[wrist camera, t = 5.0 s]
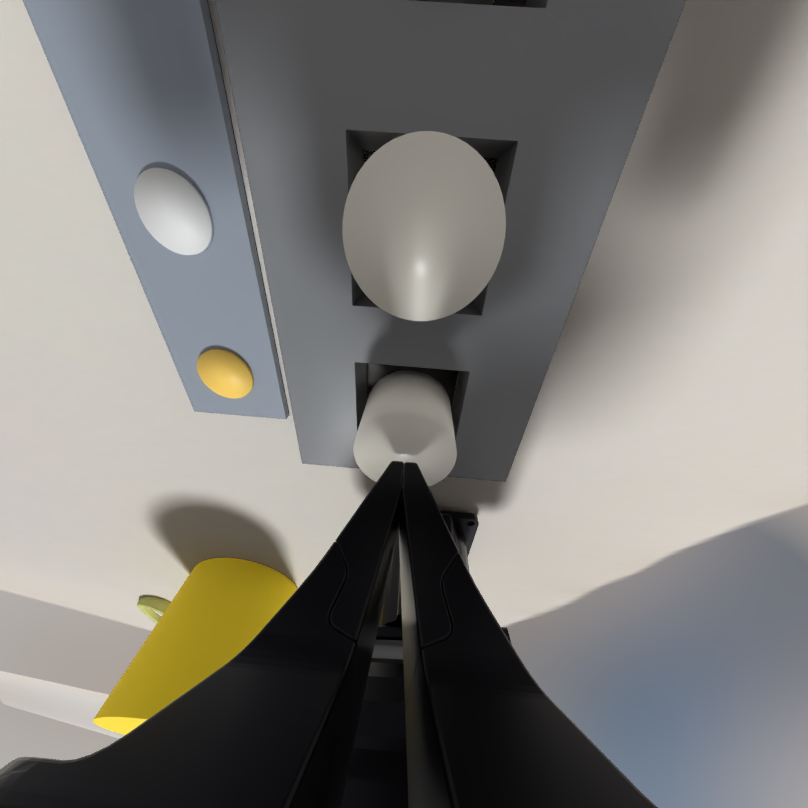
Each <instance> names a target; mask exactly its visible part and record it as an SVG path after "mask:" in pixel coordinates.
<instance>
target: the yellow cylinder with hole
mask: <svg viewBox="0 0 808 808" xmlns="http://www.w3.org/2000/svg"><path fill="white" fill-rule="evenodd" d="M297 589H298V588H297V587H296V585H295V584H294V583H293V582H292V581H291V580H290V579H289V578H287V577H286V576H285V575H283V574H282V573H280V572H278V571H276V570H274V569H272V568H270V567H267V566H265V565H262V564H259V563H256V562H252V561H248V560H243V559H236V558H213V559H208V560H204V561H202V562H200V563H198V564H197V565H196V566H195V567H194V569H193V570H192V572H191V573H190V575H189V576H188V578H187V579H186V581H185V582H184V584H183V585H182V587H181V588H180V590H179V591H178V593H177V594H176V596H175V597H174V599H173V600H172V602H171V603H170V605H169V606H168V608H167V609H166V611H165V613H164V614H163V616H162V617H161V619H160V620H159V622H158V623H157V625H156V626H155V628H154V629H153V631H152V632H151V634H150V635H149V637H148V638H147V640H146V641H145V643H144V644H143V646H142V647H141V649H140V650H139V652H138V653H137V655H136V656H135V658H134V659H133V661H132V662H131V664H130V665H129V667H128V669H127V670H126V671H125V673H124V674H123V676H122V677H121V679H120V681H119V682H118V683H117V685H116V686H115V688H114V690H113V691H112V692H111V694H110V695H109V697H108V698H107V700H106V701H105V703H104V705H103V706H102V708H101V709H100V711H99V712H98V714H97V715H96V717H95V718H94V720H93V722H94V723H95V724H96V725H98V726H100V727H102V728H105V729H108V730H110V731H114V732H117V733H120V734H124V735H126V734H128V733H129V732H131V731H132V730H133V729H135V728H136V727H138V726H139V725H140V724H142V723H143V722H145V721H146V720H148V719H149V718H150V717H152V716H153V715H155V714H156V713H157V712H159V711H160V710H162V709H163V708H164V707H166V706H167V705H169V704H170V703H172V702H173V701H174V700H176V699H177V698H179V697H180V696H181V695H183V694H184V693H186V692H187V691H188V690H190V689H191V688H193V687H194V686H196V685H197V684H198V683H200V682H201V681H203V680H204V679H205V678H207V677H208V676H210V675H211V674H212V673H214V672H215V671H217V670H218V669H220V668H221V667H222V666H224V665H225V664H226V663H228V662H229V661H230V660H231V659H233V658H234V657H235V656H236V655H237V654H239V653H240V652H241V651H242V650H243V649H244V648H245V647H246V646H247V645H248V644H249V643H250V642H251V641H252V640H253V639H254V638H255V637H256V635H257V634H258V633H259V632H260V631H261V630H262V629H263V628H264V627H265V625H266V624H267V623H268V622H269V621H270V620H271V619H272V617H273V616H274V615H275V614H276V613H277V612H278V611H279V610H280V608H281V607H282V606H283V605H284V604H285V603H286V602H287V600H288V599H289V598H290V597H291V596H292V595H293V594H294V593H295V591H296V590H297Z"/></svg>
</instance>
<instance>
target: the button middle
mask: <svg viewBox="0 0 808 808" xmlns="http://www.w3.org/2000/svg"><path fill="white" fill-rule="evenodd" d="M505 233H506V214H505V205H504V200H503V195H502V192H501V189H500V186H499V183H498V181H497V179H496V177H495V175H494V173H493V171H492V169H491V168H490V166H489V165H488V163H487V162H486V161H485V159H484V158H483V157H482V156H481V155H480V154H479V153H478V152H477V151H476V150H475V149H474V148H472V147H471V146H470V145H469V144H467V143H466V142H464V141H462V140H460V139H459V138H457V137H454V136H452V135H449V134H446V133H442V132H435V131H418V132H413V133H408V134H405V135H402V136H400V137H397V138H395V139H393V140H391V141H389V142H388V143H386V144H384V145H383V146H382V147H381V148H379V149H378V150H377V151H376V152H374V153H373V154H372V156H371V157H370V158H369V159H368V160H367V161H366V162H365V163H364V165H363V166H362V168H361V169H360V171H359V172H358V173H357V175H356V177H355V179H354V181H353V183H352V185H351V188H350V191H349V193H348V196H347V199H346V204H345V208H344V214H343V222H342V236H343V245H344V251H345V255H346V259H347V262H348V265H349V268H350V270H351V272H352V275H353V277H354V279H355V280H356V282H357V284H358V285H359V287H360V288H361V290H362V291H363V292H364V293H365V295H366V296H367V297H368V298H369V299H370V300H371V301H372V302H373V303H374V304H376V305H377V306H378V307H380V308H381V309H382V310H384V311H386V312H388V313H389V314H392V315H394V316H396V317H399V318H402V319H406V320H412V321H430V320H436V319H440V318H444V317H447V316H449V315H452V314H454V313H455V312H457V311H459V310H461V309H462V308H464V307H465V306H467V305H468V304H469V303H470V302H472V301H473V300H474V299H475V298H476V297H477V296H478V295H479V294H480V293H481V291H482V290H483V289H484V288H485V286H486V285H487V283H488V282H489V281H490V279H491V277H492V275H493V273H494V272H495V270H496V267H497V265H498V262H499V260H500V257H501V253H502V250H503V246H504V240H505Z"/></svg>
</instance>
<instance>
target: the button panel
mask: <svg viewBox="0 0 808 808" xmlns="http://www.w3.org/2000/svg"><path fill="white" fill-rule="evenodd" d="M685 1H686V0H526V5H525V7H514V6H496V5H479V4H462V3H445V2H427V1H410V0H215V4H216V9H217V14H218V19H219V25H220V30H221V35H222V41H223V46H224V51H225V57H226V62H227V67H228V73H229V78H230V83H231V88H232V94H233V99H234V104H235V110H236V115H237V120H238V126H239V131H240V136H241V142H242V147H243V152H244V157H245V163H246V168H247V173H248V179H249V184H250V189H251V195H252V200H253V205H254V211H255V216H256V221H257V227H258V232H259V237H260V242H261V248H262V253H263V258H264V264H265V269H266V274H267V280H268V285H269V290H270V296H271V301H272V306H273V311H274V317H275V322H276V327H277V333H278V338H279V343H280V349H281V354H282V359H283V365H284V370H285V375H286V381H287V386H288V391H289V396H290V402H291V407H292V412H293V418H294V423H295V428H296V434H297V439H298V444H299V450H300V455H301V460H302V463H303V464H315V465H326V466H337V467H348V468H359V466H358V465H357V463H356V461H355V458H354V453H353V445H354V441H355V438H356V434H357V431H358V428H359V425H360V422H361V419H362V416H363V412H364V409H365V406H366V403H367V381H366V363H372V364H384V365H396V366H408V367H420V368H432V369H445V370H457V371H458V375H457V381H456V386H455V392H454V397H453V402H452V408H451V412H452V420H453V427H454V434H455V442H456V449H457V458H456V462H455V465H454V467H453V469H452V470H451V472H450V473H449V474H448V475H447V476H449V477H460V478H471V479H482V480H494V481H505V482H506V479H507V477H508V474H509V471H510V469H511V466H512V463H513V461H514V458H515V455H516V453H517V450H518V447H519V445H520V442H521V439H522V437H523V434H524V431H525V429H526V426H527V423H528V421H529V418H530V415H531V413H532V410H533V407H534V405H535V402H536V399H537V397H538V394H539V391H540V389H541V386H542V383H543V381H544V378H545V375H546V373H547V370H548V367H549V364H550V362H551V359H552V356H553V354H554V351H555V348H556V346H557V343H558V340H559V338H560V335H561V332H562V330H563V327H564V324H565V322H566V319H567V316H568V314H569V311H570V308H571V306H572V303H573V300H574V298H575V295H576V292H577V290H578V287H579V284H580V282H581V279H582V276H583V274H584V271H585V268H586V266H587V263H588V260H589V258H590V255H591V252H592V250H593V247H594V244H595V242H596V239H597V236H598V233H599V231H600V228H601V225H602V223H603V220H604V217H605V215H606V212H607V209H608V207H609V204H610V201H611V199H612V196H613V193H614V191H615V188H616V185H617V183H618V180H619V177H620V175H621V172H622V169H623V167H624V164H625V161H626V159H627V156H628V153H629V151H630V148H631V145H632V143H633V140H634V137H635V135H636V132H637V129H638V127H639V124H640V121H641V119H642V116H643V113H644V110H645V108H646V105H647V102H648V100H649V97H650V94H651V92H652V89H653V86H654V84H655V81H656V78H657V76H658V73H659V70H660V68H661V65H662V62H663V60H664V57H665V54H666V52H667V49H668V46H669V44H670V41H671V38H672V36H673V33H674V30H675V28H676V25H677V22H678V20H679V17H680V14H681V12H682V9H683V6H684V4H685ZM418 131H435V132H442V133H446V134H449V135H452V136H454V137H457V138H459V139H460V140H462V141H464V142H466V143H467V144H469V145H470V146H471V147H472V148H474V149H475V150H476V151H477V152H478V153H479V154H480V155H481V156H482V157H483V158H495V159H497V163H496V168H495V174H494V175H495V177H496V179H497V181H498V183H499V186H500V189H501V192H502V195H503V200H504V205H505V214H506V233H505V240H504V246H503V250H502V253H501V257H500V260H499V262H498V265H497V267H496V270H495V272H494V273H493V275H492V277H491V279H490V281H489V282H488V283H487V285H486V286H485V288H484V289H483V290H482V291H481V293H480V294H479V295H478V296H477V297H476V298H475V299H474V300H473V301H472V302H470V303H469V304H468V305H467V306H465V307H464V308H462V309H461V310H459V311H457V312H455V313H454V314H452V315H449V316H447V317H444V318H440V319H436V320H430V321H412V320H406V319H402V318H399V317H396V316H394V315H392V314H389V313H388V312H386V311H384V310H382V309H381V308H380V307H378V306H377V305H376V304H374V303H373V302H372V301H371V300H370V299H369V298H368V297H367V296H366V295H365V293H364V292H363V291H362V290H361V288H360V287H359V285H358V284H357V282H356V280H355V279H354V277H353V275H352V272H351V270H350V268H349V265H348V262H347V259H346V255H345V251H344V245H343V236H342V222H343V214H344V208H345V204H346V199H347V196H348V193H349V191H350V188H351V185H352V183H353V181H354V179H355V177H356V175H357V173H358V172H359V171H360V169H361V168H362V166H363V165H364V155H363V150H378V149H379V148H381V147H382V146H383V145H384V144H386V143H388V142H389V141H391V140H393V139H395V138H397V137H400V136H402V135H405V134H408V133H413V132H418ZM359 469H360V468H359Z"/></svg>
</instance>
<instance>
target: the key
mask: <svg viewBox="0 0 808 808" xmlns="http://www.w3.org/2000/svg"><path fill="white" fill-rule="evenodd" d="M170 603H171V602H169V601H166V600H163V599H160V598H155V597H143V598H141V599H140V600H139V602H138V604H137V607H138V608H139V609H140V610H141V611H142V612H143V613H144V614H145V615H146V616H148V617H149V618H150V619H151V620H152V621H154V622H155V623H158V622H159V620H160V619H161V616H159V615H158V614H156V613H155V612H154V611H153V610H155V611H157V612H159V613H161V614H164V613H165V611H166V609H167V608H168V606H169V605H170Z"/></svg>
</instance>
